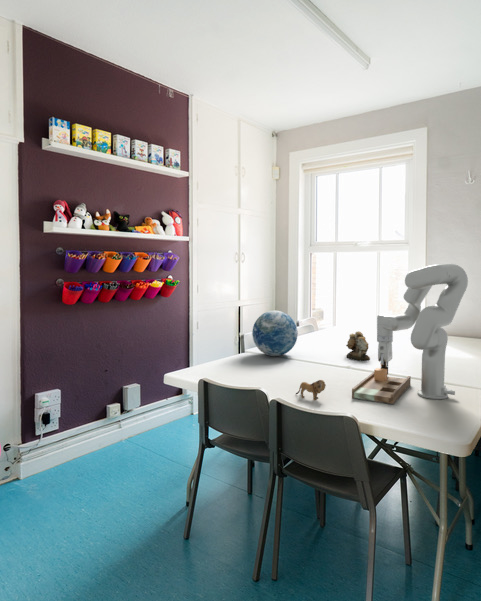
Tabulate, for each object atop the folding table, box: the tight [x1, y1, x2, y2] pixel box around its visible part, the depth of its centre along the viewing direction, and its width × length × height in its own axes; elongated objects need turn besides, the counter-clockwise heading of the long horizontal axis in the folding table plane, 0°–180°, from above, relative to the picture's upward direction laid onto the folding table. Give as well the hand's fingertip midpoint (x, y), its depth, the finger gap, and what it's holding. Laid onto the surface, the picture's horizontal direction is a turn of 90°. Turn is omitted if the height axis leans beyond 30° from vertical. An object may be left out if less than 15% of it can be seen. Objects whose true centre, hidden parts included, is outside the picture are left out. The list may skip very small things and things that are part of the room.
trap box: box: [351, 371, 411, 406], centre depth 205 cm, size 18×34×4 cm, turn 147°
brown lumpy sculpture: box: [345, 331, 371, 361], centre depth 276 cm, size 18×12×17 cm, turn 30°
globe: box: [251, 310, 299, 357], centre depth 286 cm, size 30×30×30 cm
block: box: [373, 367, 388, 381], centre depth 215 cm, size 5×5×5 cm
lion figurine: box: [295, 379, 327, 401], centre depth 198 cm, size 15×5×9 cm, turn 56°
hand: (384, 374), depth 220 cm, fingers closed
